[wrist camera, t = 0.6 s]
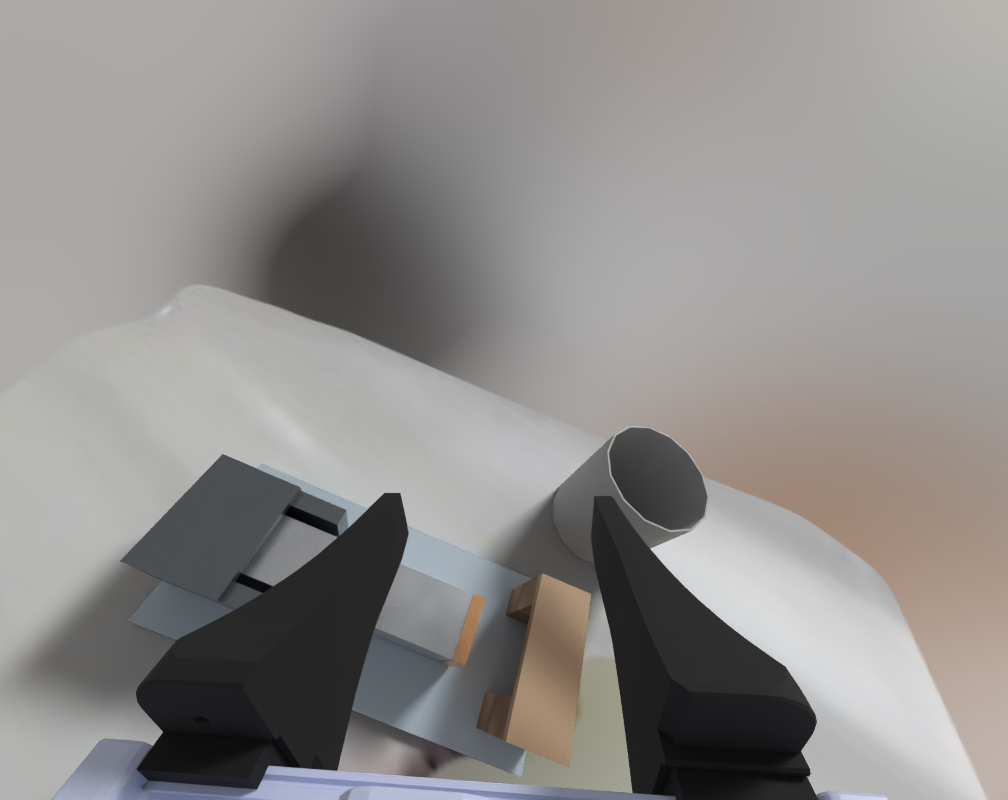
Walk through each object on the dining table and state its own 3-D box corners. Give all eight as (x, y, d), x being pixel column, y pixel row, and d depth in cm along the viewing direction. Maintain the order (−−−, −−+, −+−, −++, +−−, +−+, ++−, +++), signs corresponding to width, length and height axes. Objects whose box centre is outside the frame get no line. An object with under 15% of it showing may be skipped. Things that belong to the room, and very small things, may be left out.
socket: (526, 748, 23) (569, 767, 19) (476, 727, 23) (505, 741, 18) (553, 607, 29) (591, 594, 24) (512, 589, 28) (542, 573, 24)
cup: (543, 542, 32) (600, 501, 24) (560, 464, 37) (612, 410, 30) (630, 579, 32) (713, 550, 25) (635, 497, 38) (705, 452, 30)
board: (517, 775, 23) (521, 777, 22) (131, 622, 22) (126, 620, 21) (553, 590, 30) (556, 589, 30) (263, 466, 29) (261, 463, 28)
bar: (449, 666, 24) (465, 665, 21) (210, 569, 24) (182, 550, 20) (468, 608, 27) (485, 598, 23) (251, 517, 26) (233, 492, 22)
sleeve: (290, 632, 23) (273, 623, 18) (169, 583, 23) (120, 560, 18) (348, 534, 27) (346, 506, 23) (246, 491, 27) (222, 454, 22)
